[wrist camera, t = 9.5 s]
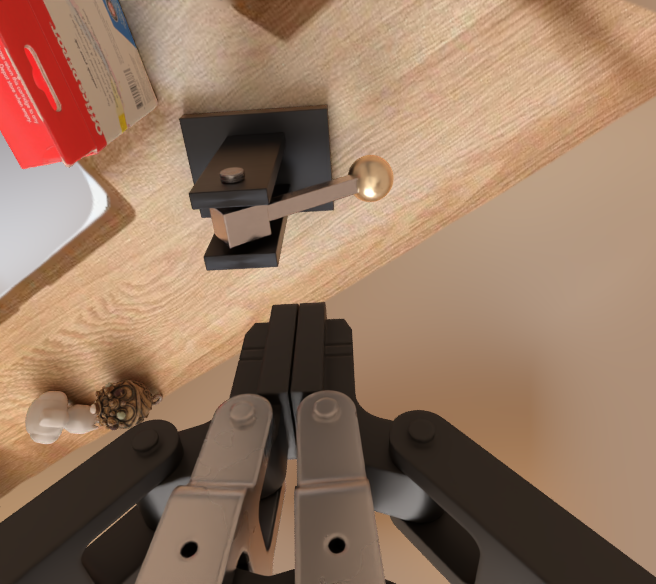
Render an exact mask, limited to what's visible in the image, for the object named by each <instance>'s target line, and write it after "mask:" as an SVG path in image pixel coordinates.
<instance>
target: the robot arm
mask: <svg viewBox="0 0 656 584" xmlns="http://www.w3.org/2000/svg"><path fill="white" fill-rule="evenodd" d="M239 359H240V360H239V362H238V366H237V370H236V374H235V378H234V382H233V386H232V390H231V394H230V398H229V399H228V400H226V401H225V402H223V403H222V404H221V405H220V406H219V407H218V409H217V410H216V411H215V413H214V416H213V418H212V420H210V421H209V422H207V423H205V424H202V425H199V426H196V427H193V428H189V429H186V430H182V431H179V432H178V431H177V429H176V427H175V426H174V425H173V424H172V423H170V422H168V421H164V420H149V421H145V422H143V423H140V424H138V425H136V426H134V427H132V428H131V429H129V430H128V431H126V432H125V433H124V434H122V435H121V436H120V437H118V438H117V439H115V440H114V441H113V442H111V443H110V444H108V445H107V446H106V447H104V448H103V449H102V450H100V451H99V452H97V453H96V454H95V455H93V456H92V457H91V458H89V459H88V460H87V461H85V462H84V463H82V464H81V465H80V466H78V467H77V468H75V469H74V470H73V471H71V472H70V473H69V474H67V475H66V476H64V477H63V478H62V479H60V480H59V481H58V482H56V483H55V484H53V485H52V486H51V487H49V488H48V489H46V490H45V491H44V492H42V493H41V494H40V495H38V496H37V497H35V498H34V499H33V500H32V501H30V502H29V503H27V504H26V505H25V506H23V507H22V508H20V509H19V510H18V511H16V512H15V513H13V514H12V515H11V516H9V517H8V518H6V519H5V520H4V521H2V522H1V523H0V584H396V583H393V582H391V581H388V580H386V579H385V577H384V570H383V564H382V559H381V552H380V545H379V539H378V533H377V527H376V520H375V514H374V511H376V512H380V513H384V514H387V515H390V517H391V520H392V521H393V523H394V525H395V526H396V527H397V528H398V529H399V530H400V531H401V532H402V533H403V534H404V535H405V537H406V538H408V540H409V541H410V542H411V543H413V545H414V546H415V547H416V548H417V549H418V550H419V551H420V552H421V553H422V554H423V555H424V556H425V557H426V558H427V559H428V560H429V561H430V562H431V563H432V565H433V566H434V567H435V568H436V569H437V570H438V571H439V572H440V573H441V574H442V575H443V576H444V577H445V578H446V579H447V580H448V581H449V582H450V583H451V584H656V577H655V576H653V575H652V574H650V573H649V572H648V571H647V570H645V569H644V568H643V567H641V566H640V565H639V564H637V563H636V562H635V561H633V560H632V559H630V558H629V557H628V556H627V555H625V554H624V553H623V552H621V551H620V550H619V549H617V548H616V547H615V546H613V545H612V544H611V543H609V542H608V541H607V540H605V539H604V538H602V537H601V536H600V535H598V534H597V533H596V532H595V531H593V530H592V529H591V528H589V527H588V526H586V525H585V524H584V523H582V522H581V521H580V520H578V519H577V518H576V517H574V516H573V515H572V514H570V513H569V512H568V511H566V510H565V509H564V508H562V507H561V506H560V505H558V504H557V503H556V502H554V501H553V500H552V499H550V498H549V497H548V496H546V495H545V494H544V493H542V492H541V491H540V490H538V489H537V488H536V487H534V486H533V485H532V484H530V483H529V482H528V481H526V480H525V479H523V478H522V477H521V476H519V475H518V474H517V473H516V472H514V471H513V470H512V469H510V468H509V467H508V466H506V465H505V464H503V463H502V462H501V461H500V460H498V459H497V458H496V457H494V456H493V455H492V454H490V453H489V452H488V451H486V450H485V449H484V448H482V447H481V446H480V445H478V444H477V443H475V442H474V441H473V440H471V439H470V438H469V437H468V436H466V435H465V434H463V433H462V432H461V431H459V430H458V429H457V428H455V427H454V426H453V425H451V424H450V423H449V422H447V421H446V420H445V419H443V418H442V417H440V416H439V415H437V414H435V413H432V412H429V411H423V410H414V411H408V412H405V413H403V414H401V415H399V416H398V417H397V418H396V419H395V420H394V421H391V420H387V419H383V418H379V417H376V416H373V415H371V414H370V413H368V412H366V411H365V410H364V409H363V408H362V407H361V406H360V405H359V403H358V402H357V399H356V395H355V381H354V361H353V342H352V329H351V328H350V327H349V325H348V324H347V322H346V321H345V320H344V319H327V317H326V305H325V302H319V303H300V305H299V304H281V305H273V306H272V310H271V316H270V321H269V322H268V323H255V324H254V325H253V326H252V327H251V329H250V330H249V331H248V332H247V333H246V334H245V338H244V342H243V346H242V350H241V354H240V358H239ZM287 459H297V486H295V492H294V515H295V569H293V570H289V571H286V572H283V573H279V574H276V575H273V560H274V553H275V547H276V542H277V536H278V530H279V525H280V519H281V513H282V508H283V502H284V497H285V491H286V481H285V477H286V469H287ZM135 504H137V505H136V506H135V507H134V508H133V509H132V510H130V511H129V512H128V513H127V514H126V515H125V516H123V517H122V518H121V519H120V520H119V521H117V522H116V523H115V524H114V525H113V526H111V527H110V528H109V529H108V530H107V531H106V532H104V533H103V534H102V535H101V536H100V537H98V538H97V539H96V540H95V541H94V542H93V543H91V544H90V545H89V543H90V542H91V541H92V540H93V539H95V538H96V537H97V536H98V535H99V534H100V533H102V532H103V531H104V530H105V529H106V528H108V527H109V526H110V525H111V524H112V523H114V522H115V521H116V520H117V519H118V518H120V517H121V516H122V515H123V514H124V513H125V512H127V511H128V510H129V509H130V508H131V507H133V506H134V505H135ZM88 545H89V546H88ZM87 546H88V547H87ZM86 547H87V548H86Z"/></svg>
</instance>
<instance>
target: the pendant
mask: <svg viewBox="0 0 656 584" xmlns="http://www.w3.org/2000/svg"><path fill="white" fill-rule="evenodd" d="M96 396H97V398H98V399H97V400H95V401H94V402H95V403H94V404H92V405H91V407H90V412H91V413H92V414H93V415H95V414H96V415H98V417H97V418H98V419H99V425H100V426H103V425H107V426H106V429H111V430H116V429H118V428H123V429H129V428H131V427H133V426H134V425H136V424H137V425H138V424H140V423H141V422H142V421H143V420H144V418H147V417H148V414H149V411H150V410H151V409H152V405H157V404H159V402H161V401H162V399H163V397H162V395H160V394H157V395H154V396H152V394H151V393H150V391H149V389H148V388H147V387H146V385H144V384H143V383H141V382H138V381H134V380H122V381H120V382H117V383H108V384H106V386H104V387H103V389H102V390H100V391H97V392H96ZM156 398H159V399H158V400H157V401H156V402H153V400H154V399H156Z"/></svg>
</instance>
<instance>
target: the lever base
mask: <svg viewBox="0 0 656 584" xmlns="http://www.w3.org/2000/svg"><path fill="white" fill-rule="evenodd" d="M179 121H180V125H181V129H182V134H183V138H184V143H185V147H186V151H187V156H188V160H189V165H190V169H191V173H192V178H193V182H194V186H193V188H192V189H191V191H190V192H189V197H190V201H191V206H192V209H200V213H201V217H202V218H208V217H211V213H210V209H209V208H226V207H243V206H260V205H269V203H270V200H271V198H273V197H276V196H280V195H283V194H286V193H290V192H293V191H296V190H300V189H303V188H307V187H310V186H313V185H317V184H320V183H323V182H327V181H330V180H332V168H331V152H330V137H329V121H328V106H327V105H316V106H302V107H287V108H272V109H258V110H243V111H229V112H214V113H199V114H185V115H183V116H182V117H181V118H179ZM327 210H334V201H332V202H328V203H325V204H322V205H319V206H316V207H313V208H310V209H307V210H303V211H300V212H310V211H327ZM287 217H288V216H285V217H282V218H278V219H275V220H272V221H269V222H270V229H271V235H269V236H266V237H263V238H260V239H257V240H254V241H251V242H248V243H245V244H242V245H239V246H236V247H233V248H229V247H228V246H227V245H226V244H225V243H224V242H223V241H222V240H220V239H219V238H218V237H217V236H216V235H215V233H214V235H213V237H212V240H211V242H210V244H209V246H208V248H207V250H206V253H205V255H204V261H205V265H206V269H207V271H208V270H227V269H245V268H264V267H278V264H279V259H280V254H281V248H282V243H283V238H284V233H285V227H286V222H287Z"/></svg>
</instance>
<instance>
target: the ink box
mask: <svg viewBox="0 0 656 584" xmlns="http://www.w3.org/2000/svg"><path fill="white" fill-rule="evenodd" d="M157 105H158V101H157V99H156V96H155V94H154V91H153V89H152V86H151V84H150V81H149V78H148V76H147V73H146V71H145V68H144V66H143V63H142V60H141V58H140V55H139V53H138V50H137V47H136V45H135V42H134V40H133V37H132V35H131V32H130V29H129V27H128V24H127V22H126V19H125V17H124V14H123V11H122V9H121V6H120V4H119V1H118V0H0V130H1V133H2V135H3V136H4V138H5V140H6V142H7V143H8V145H9V147H10V148H11V150H12V152H13V154H14V156H15V157H16V159H17V161H18V163H19V165H20V166H21V168H22V169H27V168H31V167H37V166H43V165H49V164H53V163H57V162H61V161H62V162H63V163H64V164H65V166H66V167H71V166H73V165H74V163H75V162H77V161H78V160H80V159H81V158H83V157H85V156H89V155H94V154H98V153H99V152H100V151H101V150H102V149H103V148H105V147H106V146H107V145H108V144H109V143H110V142H112V141H113V140H114V139H115V138H117V137H118V136H119V135H120V134H122V133H123V132H124V131H126V130H127V129H128V128H129V127H131V126H132V125H133V124H135V123H136V122H137V121H139V120H140V119H141V118H142V117H144V116H145V115H147V114H148V113H149V112H151V111H152V110H153V109H154V108H155V107H156V106H157Z"/></svg>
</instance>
